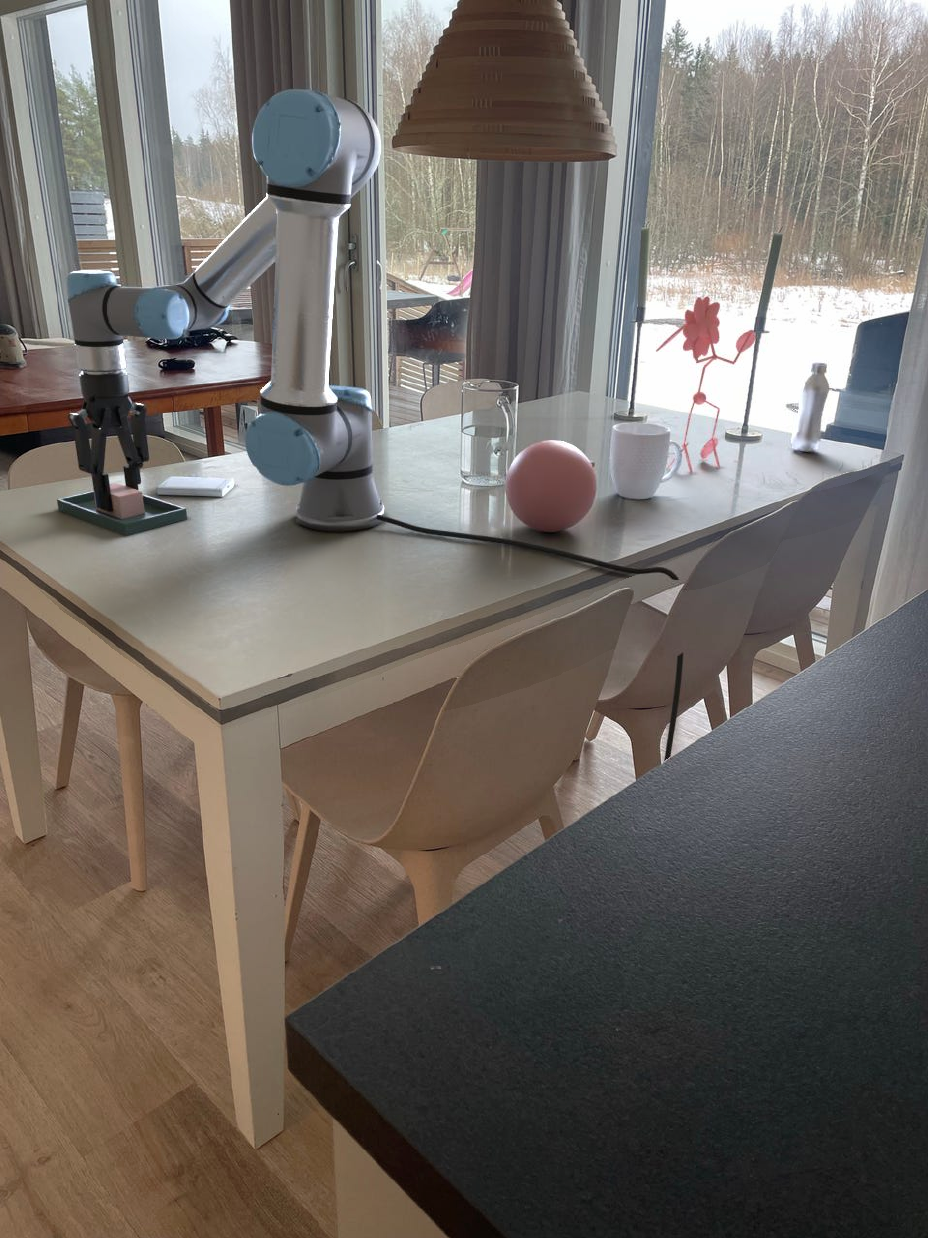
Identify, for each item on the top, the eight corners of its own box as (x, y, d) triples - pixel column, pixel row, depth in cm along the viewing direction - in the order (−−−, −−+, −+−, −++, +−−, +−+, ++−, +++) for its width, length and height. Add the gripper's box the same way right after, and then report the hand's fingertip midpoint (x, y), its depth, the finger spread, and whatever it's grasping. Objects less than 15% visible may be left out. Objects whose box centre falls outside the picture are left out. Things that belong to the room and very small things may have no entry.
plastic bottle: (821, 450, 219) (837, 363, 211) (814, 455, 214) (830, 366, 206) (793, 446, 222) (808, 360, 214) (786, 451, 217) (800, 364, 209)
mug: (661, 483, 189) (669, 419, 184) (691, 498, 180) (700, 431, 174) (596, 489, 184) (602, 423, 179) (623, 505, 175) (630, 436, 170)
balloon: (626, 525, 164) (635, 438, 158) (553, 550, 151) (559, 457, 144) (559, 505, 174) (564, 423, 167) (485, 528, 161) (488, 440, 154)
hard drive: (156, 487, 174) (221, 489, 173) (171, 475, 181) (233, 477, 181) (157, 495, 175) (222, 497, 174) (172, 483, 182) (234, 485, 182)
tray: (187, 519, 162) (186, 508, 161) (126, 535, 153) (125, 524, 152) (118, 496, 174) (117, 485, 173) (58, 510, 165) (56, 499, 164)
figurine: (746, 463, 206) (771, 297, 192) (668, 479, 192) (689, 301, 178) (692, 449, 218) (712, 291, 203) (615, 464, 203) (630, 295, 189)
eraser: (145, 513, 163) (142, 491, 161) (121, 519, 160) (118, 496, 158) (119, 504, 167) (116, 482, 166) (95, 509, 164) (92, 487, 162)
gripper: (136, 362, 162) (151, 491, 171) (39, 373, 149) (61, 513, 159) (162, 367, 158) (176, 500, 167) (65, 379, 145) (86, 522, 154)
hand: (120, 506), depth 163 cm, fingers closed on eraser, 5 cm apart
